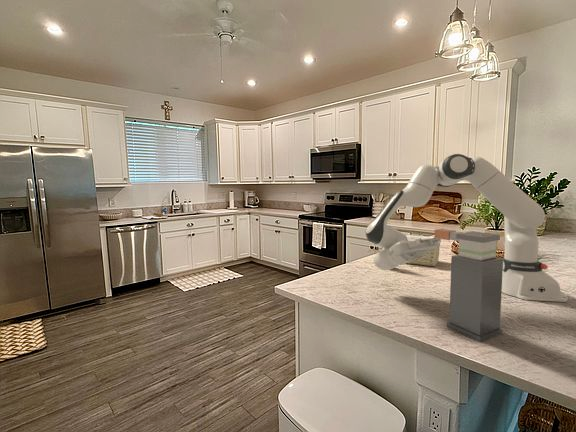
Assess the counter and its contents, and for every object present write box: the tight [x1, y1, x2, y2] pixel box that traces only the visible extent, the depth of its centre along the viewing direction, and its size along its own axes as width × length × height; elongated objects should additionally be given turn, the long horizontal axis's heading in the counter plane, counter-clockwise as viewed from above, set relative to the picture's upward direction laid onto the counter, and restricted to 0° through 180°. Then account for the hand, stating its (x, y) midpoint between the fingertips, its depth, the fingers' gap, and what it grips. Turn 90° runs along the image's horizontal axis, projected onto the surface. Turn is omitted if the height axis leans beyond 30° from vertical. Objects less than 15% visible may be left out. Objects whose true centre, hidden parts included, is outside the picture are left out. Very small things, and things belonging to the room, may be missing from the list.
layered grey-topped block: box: [433, 228, 501, 262], centre depth 100 cm, size 18×8×24 cm, turn 26°
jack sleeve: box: [446, 254, 504, 343], centre depth 96 cm, size 11×11×24 cm
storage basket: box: [405, 234, 442, 267], centre depth 179 cm, size 24×16×15 cm
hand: (429, 239), depth 110 cm, fingers open, 8 cm apart
